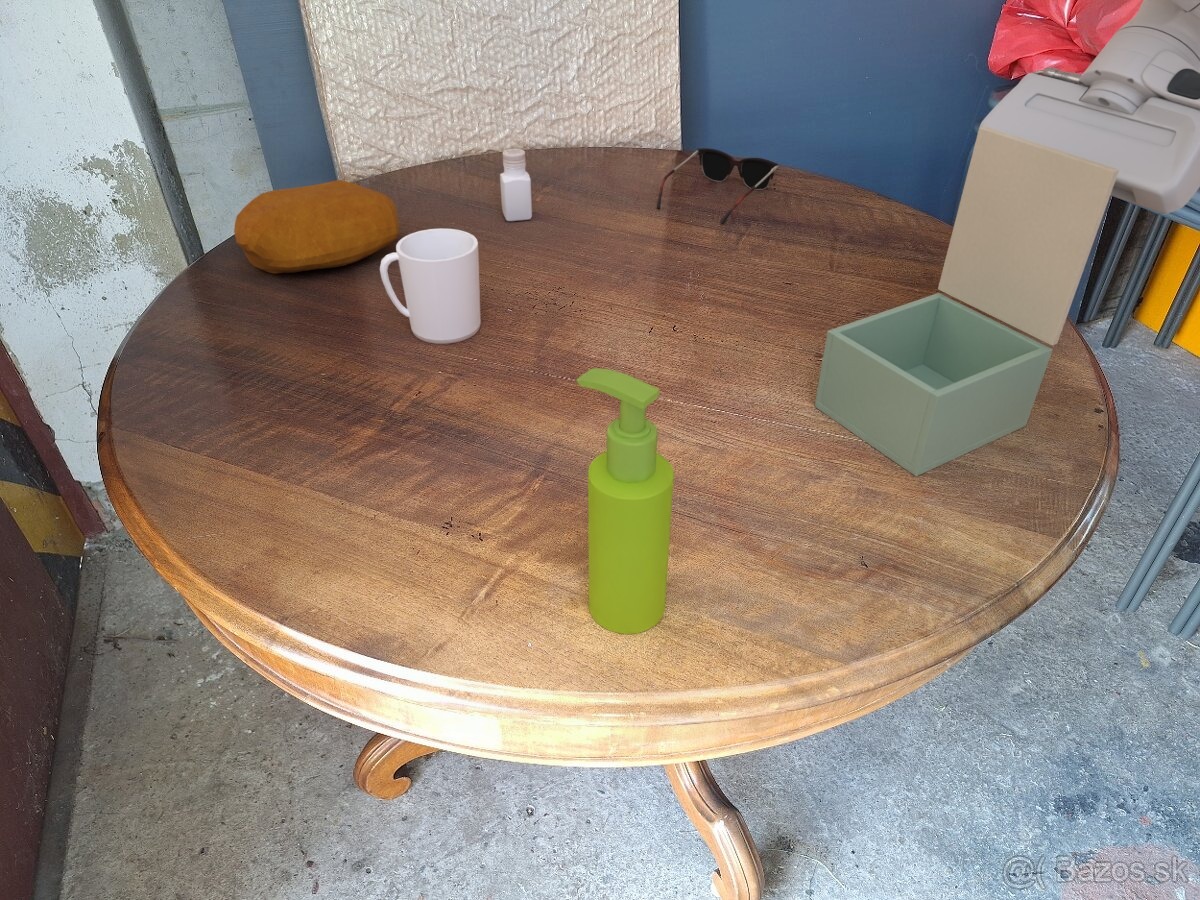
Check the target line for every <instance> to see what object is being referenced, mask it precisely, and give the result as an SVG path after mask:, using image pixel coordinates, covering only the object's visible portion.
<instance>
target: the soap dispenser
mask: <svg viewBox="0 0 1200 900" xmlns="http://www.w3.org/2000/svg"><path fill="white" fill-rule="evenodd" d="M575 381H576V383H577V384H578V385H579V387H582V388H587V389H592V390H596V391H598V392H602V393H604V394H607V395H608V396H612V397H614V398H616V399H617V400H619V417H618V418H615V419H614V420H613V421H611V422H610V423H609V424H608V426H607V428H606V451H603V452H602V453H600V454H598V455H597V456H596V457H595V458H594V459H593V460H592V461H591V463H590V464H589V467H588V471H587V472H588V473H587V492H588V493H587V494H588V496H587V499H588V500H587V506H588V507H587V508H588V509H587V511H588V512H587V513H588V514H587V515H588V517H587V518H588V519H587V520H588V521H587V523H588V527H587V528H588V609H589V612H590V615H591V617H592V619H593V620H594V621H595V622H596V623H597V624H598V625H599V626H601V627H602V628H604V629H605V630H608V631H610V632H613V633H616V634H621V635H622V634H623V635H632V634H639V633H643V632H646V631H648V630H650V629H652V628H653V627H655V626H656V625H657V624H658V623H659V622H660V621H661V620H662V618H663V617H664V615H665V611H666V598H667V584H668V583H667V582H668V571H669V570H668V569H669V568H668V567H669V553H670V537H671V526H672V525H671V522H672V509H673V508H672V507H673V496H674V495H673V493H674V477H675V472H674V468H673V466H672V464H671V463H670V461H669V460H668V459H667V458H665V456H663V455H661V454H660V453H658V452H657V451H658V434H659V433H658V427H657V426H656V424H655V423H653V421H651V420H649V418H647V417H646V415H647V407H648V406H649V405H651V404H652V403H654V402H655V401H656V400H657V399H658V398H659V397H660V389H659V388H657V387H655V386H654V385H651V384H649V383H647V382H645V381H644V380H643V381H642V380H641V379H639V378H636V377H634V376H631V375H629V374H627V373H623V372H620V371H618V370H614V369H613V370H612V369H608V368H601V367H592V368H590V369H588V370H587V371H586V372H585V373H583V374H581V376H579V377H577V378H576V379H575Z"/></svg>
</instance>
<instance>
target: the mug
mask: <svg viewBox="0 0 1200 900" xmlns="http://www.w3.org/2000/svg"><path fill="white" fill-rule="evenodd" d="M395 251H396V252H390V253H388V254H386V255H385V256H384V257H382V258H381V261H380V266H379V273H380V278H381V281H382V284H383V286H384V289H385V292H386V294H387V296H388V297H389V299H390V300H391V302H392V304H393V305H394V306H395V308H396V309H397V310H398V312H399V313H401V314H402V315H403V316H404V317H406V318H408V319H409V324H410V329H411V332H412V333H413V335H414V337H416V338H417V339H419V340H421V341H422V342H425V343H428V344H429V343H430V344H434V345H448V344H455V343H460V342H463V341H465V340H468V339H470V338H472V337H474V336H475V335H476V334H477V333H478V332H479V330H480V328H481V325H482V322H481V319H482V318H481V291H480V289H481V288H480V264H479V263H480V262H479V261H480V259H479V258H480V257H479V242H478V239H477V238H476V236H475V235H473V234H472V233H469V231H464V230H460V229H456V228H442V227H441V228H429V229H423V230H418V231H416V232H415V231H414V232H412V233H409V234H407V235H405V236H403V237H402V238H401V239H400V240H398V242H397V243H396V245H395ZM395 261H397V262H398V268H399V273H400V278H401V282H402V288H403V293H404V299H405V303H406V307H405V306H404V305H403V304H402V303H401V301H400V300H399V299H398V297H397V295H396V293H395V290H394V289H393V285H392V284H391V280H390V277H389V273H388V269H389V266H390V265H391V263H393V262H395Z"/></svg>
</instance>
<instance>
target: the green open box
mask: <svg viewBox="0 0 1200 900" xmlns="http://www.w3.org/2000/svg"><path fill="white" fill-rule="evenodd" d="M824 344H825V345H824V349H823V354H822V360H821V366H820V370H819V371H820V372H819V378H818V383H817V387H816V388H817V389H816V394H815V402H814V408H816V410H817V409H818V410H819V411H820V412H822V413H823V414H824V415H826V416H827V417H829V418H830V419H832V420H833V421H835V422H836V423H838V424H839V425H840V426H842V427H843V428H845V429H846V430H848V431H849V432H851V433H852V434H853V435H855V436H857V437H858V438H859V439H860V440H862V441H863V442H865V443H866V444H868V445H869V446H871V447H873V448H874V449H875V450H876V451H878V452H880V453H881V454H882V455H884V456H885V457H887V458H888V459H890V460H892V461H893V462H894V463H895V464H897V465H898V466H900V467H901V468H903V469H904V470H906V471H907V472H908V473H910V474H911V475H913V476H914V477H918V476H920V475H922V474H925V473H927V472H929V471H931V470H933V469H935V468H938V467H941V466H942V465H945V464H946V463H949V462H950V461H953V460H955V459H958V458H960V457H961V456H962V457H963V456H964V455H966V454H968V453H970V452H973V451H975V450H977V449H980V448H982V447H984V446H987V445H988V444H990V443H993V442H994V441H996V440H998V439H1001V438H1003V437H1005V436H1008V435H1009V434H1012V433H1014V432H1016V431H1018V430H1020V429H1022V428H1024V427H1027V424H1028V422H1029V418H1030V416H1031V413H1032V410H1033V407H1034V404H1035V402H1036V399H1037V396H1038V394H1039V390H1040V387H1041V384H1042V382H1043V380H1044V379H1043V378H1044V376H1045V373H1046V370H1047V367H1048V365H1049V361H1050V359H1051V356H1052V354H1053V351H1054V350H1053V348H1051V347H1049V346H1048V345H1046V344H1043V343H1041V342H1039V341H1038V340H1035V339H1034V338H1032V337H1030V336H1027V335H1025V334H1023V333H1021V332H1019V331H1018V330H1014V329H1013V328H1011V327H1009V326H1007V325H1005V324H1003V323H1001V322H999V321H997V320H995V319H993V318H991V317H989V316H987V315H984V314H983V313H980V312H979V311H977V310H975V309H973V308H971V307H969V306H966V305H965V304H964V303H963V304H962V303H960V302H959V301H956V300H955V299H952V298H951V297H948V296H946V295H944V294H943V293H941V292H937V293H934V294H931V295H929V296H928V295H927V296H926V297H922V298H920V299H917V300H914V301H911V302H908V303H905V304H902V305H899V306H896V307H893V308H890V309H887V310H885V311H881V312H879V313H875V314H873V315H870V316H867V317H864V318H861V319H858V320H855V321H852V322H850V323H847V324H844V325H840V326H838V327H835V328H832V329H829V330H827V331H826V338H825V343H824Z"/></svg>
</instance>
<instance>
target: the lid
mask: <svg viewBox="0 0 1200 900" xmlns="http://www.w3.org/2000/svg"><path fill="white" fill-rule="evenodd" d="M979 127H980V126H979ZM1118 172H1119V169H1117V168H1113V167H1110V166H1107V165H1104V164H1101V163H1098V162H1095V161H1092V160H1088V159H1085V158H1082V157H1079V156H1076V155H1073V154H1070V153H1066V152H1063V151H1060V150H1057V149H1054V148H1051V147H1048V146H1045V145H1041V144H1038V143H1035V142H1032V141H1029V140H1026V139H1023V138H1019V137H1016V136H1013V135H1010V134H1007V133H1004V132H1001V131H998V130H994V129H991V128H988V127H980V128H978V131H977V135H976V138H975V143H974V147H973V151H972V155H971V159H970V162H969V166H968V171H967V174H966V178H965V182H964V186H963V189H962V192H961V194H962V195H961V198H960V200H959V205H958V209H957V213H956V217H955V221H954V225H953V228H952V233H951V236H950V240H949V244H948V248H947V252H946V255H945V260H944V264H943V268H942V271H941V275H940V279H939V283H938V287H937V290H939V291H940V292H943V293H944V294H946V295H949V296H951V297H953V298H954V299H956V300H958V301H961V302H963V303H965V304H967V305H969V306H971V307H973V308H975V309H977V310H979V311H981V312H983V313H985V314H986V315H990V316H991V317H994V318H995V319H997V320H1000V321H1001V322H1003V323H1005V324H1007V325H1008V326H1009V325H1010V326H1011V327H1014V328H1015V329H1018V330H1020V331H1022V332H1024V333H1026V334H1028V335H1030V336H1032V337H1034V338H1036V339H1037V340H1040V341H1042V342H1044V343H1046V344H1048V345H1050V346H1054V345H1057V344H1059V343H1058V342H1059V340H1060V337H1061V335H1062V332H1063V328H1064V325H1065V324H1066V320H1067V317H1068V315H1069V312H1070V309H1071V306H1072V304H1073V301H1074V298H1075V296H1076V292H1077V290H1078V286H1079V284H1080V281H1081V278H1082V276H1083V273H1084V270H1085V267H1086V265H1087V262H1088V259H1089V256H1090V254H1091V250H1092V248H1093V246H1094V245H1093V244H1094V242H1095V239H1096V237H1097V235H1098V234H1097V233H1098V231H1099V228H1100V225H1101V222H1102V220H1103V217H1104V214H1105V212H1106V208H1107V206H1108V203H1109V200H1110V197H1111V196H1110V195H1111V192H1112V189H1113V186H1114V184H1115V181H1116V178H1117V175H1118Z"/></svg>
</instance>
